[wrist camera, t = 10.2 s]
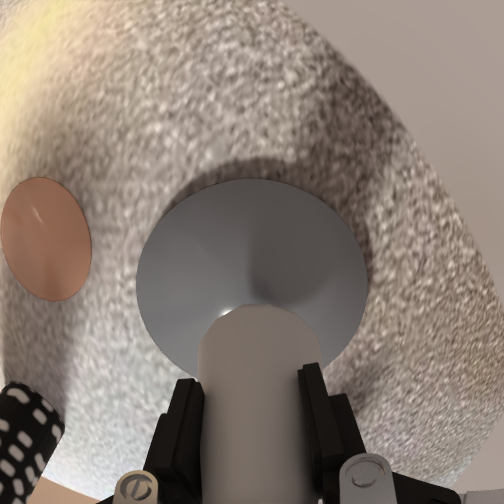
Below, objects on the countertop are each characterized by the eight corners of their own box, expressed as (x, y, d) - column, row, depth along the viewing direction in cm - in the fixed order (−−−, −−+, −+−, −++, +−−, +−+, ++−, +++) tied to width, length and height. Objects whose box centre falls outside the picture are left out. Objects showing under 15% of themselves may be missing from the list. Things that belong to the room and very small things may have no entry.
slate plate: (116, 205, 17) (109, 207, 16) (352, 162, 16) (358, 162, 15) (176, 389, 21) (173, 398, 20) (362, 363, 20) (366, 371, 19)
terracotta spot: (-7, 196, 17) (-10, 197, 16) (75, 160, 16) (72, 160, 16) (24, 303, 19) (22, 305, 19) (108, 292, 19) (106, 294, 19)
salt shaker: (214, 380, 17) (172, 594, 4) (196, 291, 15) (82, 545, 3) (314, 373, 16) (359, 590, 4) (313, 281, 15) (416, 547, 2)
